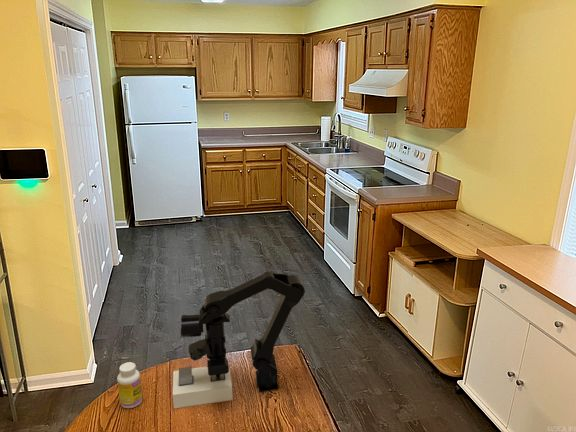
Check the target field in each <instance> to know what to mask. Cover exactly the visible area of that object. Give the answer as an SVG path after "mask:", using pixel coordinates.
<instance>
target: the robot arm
mask: <svg viewBox="0 0 576 432" xmlns="http://www.w3.org/2000/svg"><path fill="white" fill-rule="evenodd" d="M267 290H272V291H273V292H276V293H278V294H280V299H279V302H278V303H277V306H276V308H275V310H274V312H273V313H272V314H273V315H272V317H271V319H270V320H269V323H268V325H267V327H266V329H265V332H264V334H263V335H262V337H261V338H259V339H257V338H254V340H253V344H252V345H251V346H250V355H251V360H252V361H251V362H252V366H253V368H254V369H255V370H256V371H255V385H256V387H257V388H258V391H259V392H261V393H262V392H267V391H273V390H274V391H275V390H279V388H280V386H279V383H278V370H279V369H278V367H277V362H276V357H275V354H274V350H275V348H274V347H275V344H276V343H277V341H278V338H279V336H280V334H281V332H282V331H283V328H284V326H285V324H286V322H287V320H288V318H289V315H290V314H291V311H292V309H293V308H295V306H297V305H298V304H300V301H301V300H302V299H303V297H304V296H305V292H306V289H305V287H304V284H303V283H302V279H301V278H300V277H299V276H298V275H296V274H291V275H288V274H286V273H278V272H272V271H265V272H263V273H262V274H261V275H257V277H254V278H252V279H250V280H248V281H246V282H243V283H241V284H240V285H239V284H238V285H237V286H235V287H233V288H230V289H228V290H219V291H215V292H212V293H210V294H207V295H206V297H205V298H204V304H203V305H202V306H201V308H200V309H199V313H198V314H189V315H188V314H182V315H181V319H180V320H181V321H180V337H181V338H182V339H184V338H192V337H193V338H196V337H201V336H203V335H202V334H203V333H204V331H205V336H204V337H205V338H203V339H200V340H196V341H195V342H193V343H190V344H189V345H188V354H189V356H190V357H189V358H190V360H192V361H199V360H200V359H202V358H203V357H204V356H206V358H207V367H208V375H210V376H211V375H216V377H220V375H221V374H226V373H228V372H229V370H230V364H229V360H228V359H227V350H226V343H227V342H226V332H225V323H230V322H231V318H230V317H231V316H230V314H229V313H227V312H228V311H230V309H231V308H233V306H235V305H237V304H238V303H240V302H243V301H246V300H248V299H249V298H251V297H254V296H256V295H259V294H260V293H263V292H265V291H267ZM204 325H205V328H204ZM228 364H229V365H228Z"/></svg>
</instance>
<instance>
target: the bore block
mask: <svg viewBox="0 0 576 432" xmlns="http://www.w3.org/2000/svg"><path fill="white" fill-rule="evenodd" d="M228 365H229V366H230V364H229V363H228ZM172 378H173V379H172V402H173V409H179V408H189V407H194V406H200V405H201V406H202V405H207V404H213V403H221V402H229V401H233V400H234V399H233V384H232V383H233V382H232V377H231V371H230V369H229V372H228V373H226V374H224V379H225V380H221V381H214V382H212V379H211V376H210V375H208V366H202V367H195V368H194V367H192V378H193V384H192V385H185V386H180V385H179V369H178V370H173V376H172Z"/></svg>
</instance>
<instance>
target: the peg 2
mask: <svg viewBox="0 0 576 432" xmlns="http://www.w3.org/2000/svg"><path fill="white" fill-rule="evenodd" d="M211 379H212V382H214V381H221V380H225V379H224V374H221V375H220V377H216V375H211Z"/></svg>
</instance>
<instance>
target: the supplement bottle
mask: <svg viewBox="0 0 576 432" xmlns="http://www.w3.org/2000/svg"><path fill="white" fill-rule="evenodd" d="M116 380H117V388H118V397H119V403H120V404H119V405H120V406H121V407H122V408H125V409H132V408H136V407H137V406H139V405H140V404H141V403H142V401H143V392H142V391H143V390H142V383H141V374H140V371H139V370H137V366H136V363H134V362H131V361H129V362H128V361H127V362H124V363H122V364H121V365H120V366H119V373H118V375H117V378H116Z"/></svg>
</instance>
